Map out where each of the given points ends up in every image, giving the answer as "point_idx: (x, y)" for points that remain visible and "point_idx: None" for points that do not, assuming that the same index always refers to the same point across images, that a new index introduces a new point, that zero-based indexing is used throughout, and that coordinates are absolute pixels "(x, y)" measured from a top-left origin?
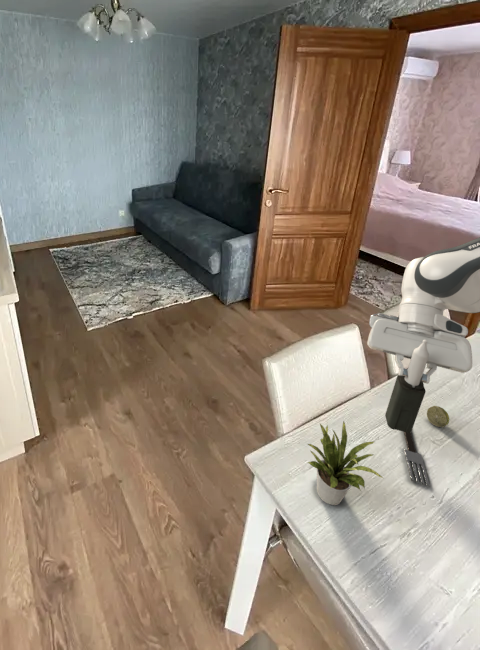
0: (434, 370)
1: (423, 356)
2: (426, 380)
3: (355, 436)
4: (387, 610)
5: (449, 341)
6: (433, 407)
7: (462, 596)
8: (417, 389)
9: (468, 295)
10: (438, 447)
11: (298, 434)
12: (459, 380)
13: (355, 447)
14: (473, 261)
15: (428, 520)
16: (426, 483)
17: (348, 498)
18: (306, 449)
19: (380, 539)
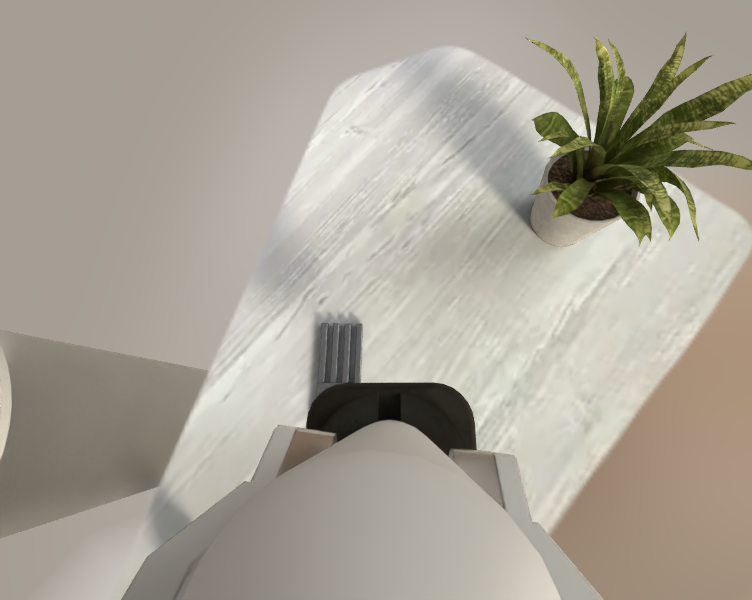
0: (181, 539)
1: (363, 461)
2: (296, 434)
3: (496, 425)
4: (452, 73)
5: None
6: None
7: (329, 132)
8: (366, 393)
9: None
10: (252, 476)
11: (668, 365)
12: None
13: (601, 147)
14: None
15: (348, 239)
16: (327, 325)
17: (514, 224)
18: (633, 319)
19: (452, 167)
